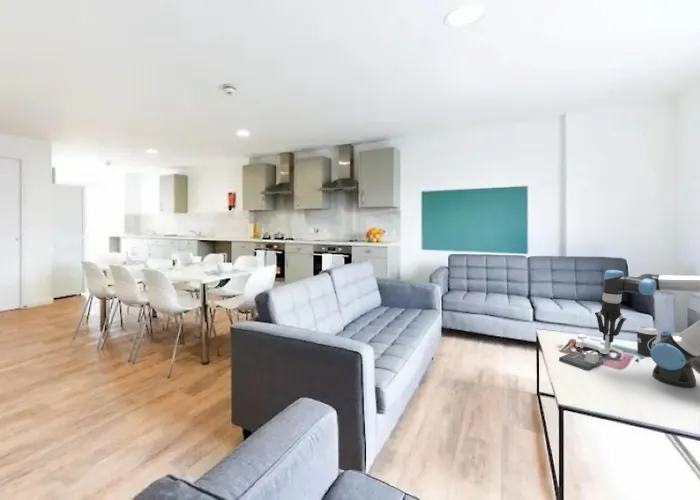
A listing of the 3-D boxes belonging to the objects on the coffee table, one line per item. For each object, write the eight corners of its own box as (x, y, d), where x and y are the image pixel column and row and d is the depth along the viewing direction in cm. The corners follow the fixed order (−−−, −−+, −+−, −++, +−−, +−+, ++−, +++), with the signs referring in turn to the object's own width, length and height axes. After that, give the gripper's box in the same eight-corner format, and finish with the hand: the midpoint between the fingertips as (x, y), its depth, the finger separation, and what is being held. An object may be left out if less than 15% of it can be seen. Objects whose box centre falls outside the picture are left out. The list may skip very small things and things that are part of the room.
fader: (597, 362, 180) (598, 352, 180) (593, 364, 178) (594, 353, 178) (589, 359, 184) (589, 349, 183) (585, 361, 182) (586, 351, 181)
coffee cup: (647, 351, 200) (650, 325, 198) (660, 357, 190) (663, 331, 189) (630, 350, 201) (632, 325, 199) (642, 357, 191) (644, 330, 190)
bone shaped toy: (610, 354, 197) (611, 340, 197) (604, 356, 192) (605, 342, 192) (580, 346, 210) (582, 332, 209) (574, 348, 205) (575, 334, 204)
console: (603, 363, 183) (603, 357, 183) (587, 370, 175) (588, 364, 175) (574, 354, 195) (575, 348, 195) (559, 360, 187) (559, 354, 187)
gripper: (630, 303, 168) (626, 350, 170) (600, 297, 179) (596, 341, 182) (623, 305, 164) (619, 353, 167) (593, 299, 175) (589, 344, 178)
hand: (607, 347), depth 174 cm, fingers closed
